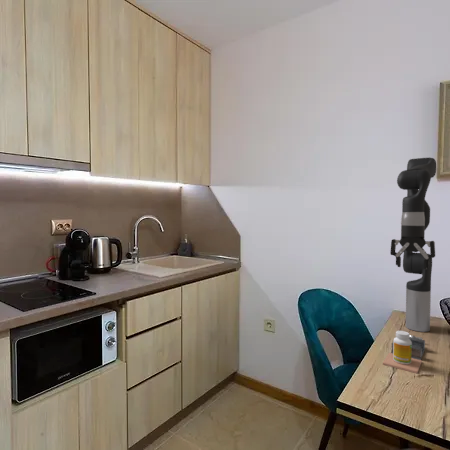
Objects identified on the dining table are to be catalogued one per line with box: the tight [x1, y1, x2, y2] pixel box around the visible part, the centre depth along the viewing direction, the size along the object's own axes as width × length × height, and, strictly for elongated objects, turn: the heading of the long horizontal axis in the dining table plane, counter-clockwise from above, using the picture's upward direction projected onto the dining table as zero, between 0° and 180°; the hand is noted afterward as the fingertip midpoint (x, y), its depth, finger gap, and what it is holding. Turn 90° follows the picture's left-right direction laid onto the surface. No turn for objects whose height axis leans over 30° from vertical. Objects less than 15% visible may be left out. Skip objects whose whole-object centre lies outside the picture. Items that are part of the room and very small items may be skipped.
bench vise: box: [391, 334, 426, 360], centre depth 120 cm, size 18×9×4 cm, turn 142°
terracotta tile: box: [382, 352, 423, 374], centre depth 108 cm, size 10×10×1 cm
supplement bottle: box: [392, 330, 412, 364], centre depth 108 cm, size 5×5×10 cm
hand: (411, 267), depth 120 cm, fingers open, 8 cm apart
